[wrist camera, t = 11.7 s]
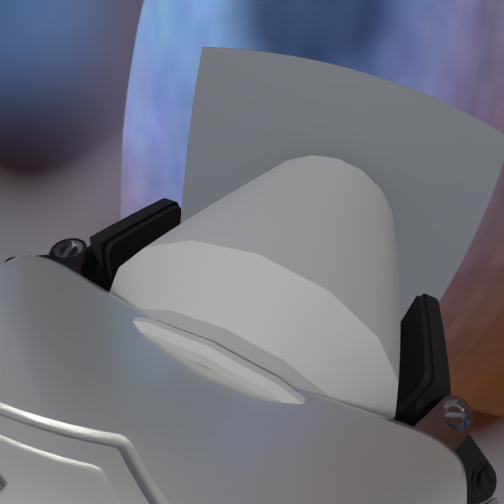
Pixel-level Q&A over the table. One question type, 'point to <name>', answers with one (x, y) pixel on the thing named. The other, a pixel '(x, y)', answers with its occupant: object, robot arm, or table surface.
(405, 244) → the grey block
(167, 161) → the table surface
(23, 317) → the robot arm
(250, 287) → the can
